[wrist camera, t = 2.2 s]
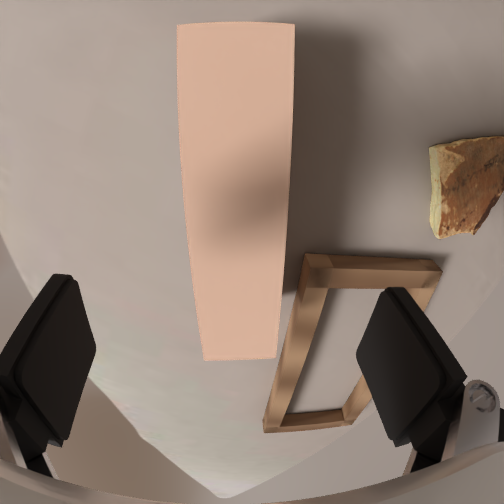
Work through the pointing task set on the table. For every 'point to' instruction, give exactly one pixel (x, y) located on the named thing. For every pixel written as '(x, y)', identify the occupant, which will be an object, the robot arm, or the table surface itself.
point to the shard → (465, 184)
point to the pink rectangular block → (236, 178)
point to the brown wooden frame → (307, 316)
